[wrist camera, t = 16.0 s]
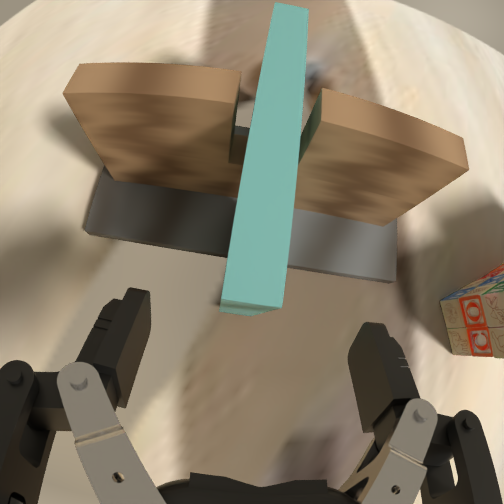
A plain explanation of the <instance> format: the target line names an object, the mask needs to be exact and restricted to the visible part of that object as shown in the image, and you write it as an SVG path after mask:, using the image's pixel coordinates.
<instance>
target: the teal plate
mask: <svg viewBox="0 0 504 504" xmlns="http://www.w3.org/2000/svg"><path fill="white" fill-rule="evenodd" d="M308 11H309V9H306V8H301V7H297V6H292V5H287V4H282V3H277V2H275V5H274V10H273V14H272V19H271V24H270V29H269V33H268V38H267V43H266V48H265V53H264V58H263V63H262V68H261V73H260V78H259V83H258V88H257V94H256V99H255V104H254V109H253V115H252V120H251V126H250V131H249V137H248V142H247V148H246V153H245V159H244V164H243V170H242V176H241V181H240V187H239V193H238V198H237V204H236V210H235V216H234V222H233V228H232V234H231V240H230V246H229V252H228V258H227V264H226V271H225V277H224V283H223V290H222V296H221V302H220V309H219V312H226V313H232V314H239V315H246V316H253V315H257V314H261V313H265V312H268V311H272V310H276V309H279V308H282V303H283V296H284V288H285V280H286V272H287V263H288V255H289V246H290V237H291V228H292V219H293V210H294V200H295V190H296V180H297V169H298V158H299V147H300V135H301V122H302V110H303V97H304V83H305V68H306V51H307V33H308Z"/></svg>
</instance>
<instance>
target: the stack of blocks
mask: <svg viewBox="0 0 504 504" xmlns="http://www.w3.org/2000/svg"><path fill="white" fill-rule="evenodd" d="M440 304H441V308H442V312H443V316H444V319H445V323H446V327H447V332H448V336H449V340H450V345H451V349H452V353H453V355H462V356H471V355H472V356H479V357H495V358H504V263H502V264H501V266H499V267H498V268H496V269H494V270H493V271H491V272H490V273H489V274H487V275H486V276H484V277H482V278H481V279H479V280H476V281H474V282H472V283H470V284H468V285H466V286H465V287H463V288H461V289H460V290H458V291H457V292H455V293H453V294H451V295H449V296H448V297H446V298H444V299H442V300H440Z"/></svg>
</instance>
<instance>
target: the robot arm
mask: <svg viewBox="0 0 504 504" xmlns="http://www.w3.org/2000/svg"><path fill="white" fill-rule="evenodd" d="M150 330H151V305H150V292H149V291H146V290H141V289H136V288H128V290H127V292H126V294H125V296H124V298H123V300H118V299H113V300H111V301H110V302H109V303H108V304H106V305H105V306H104V307H103V309H102V311H101V312H100V315H99V317H98V319H97V320H96V322H95V324H94V327H93V328H92V330H91V332H90V334H89V335H88V338H87V340H86V341H85V343H84V346H83V347H82V350H81V351H80V354H79V356H78V358H77V359H76V361H75V362H73V363H70V364H68V365H66V366H65V367H63V368H62V370H61V371H59V372H34V371H33V369H32V368H31V366H30V365H29V364H28V363H26V362H24V361H20V360H14V361H10V362H8V363H6V364H5V365H4V366H3V367H2V368H1V369H0V504H37V503H38V499H39V495H40V490H41V486H42V482H43V478H44V474H45V470H46V466H47V462H48V458H49V455H50V451H51V448H52V444H53V440H54V437H55V434H56V431H72V432H73V435H74V438H75V447H76V450H77V453H78V455H79V458H80V460H81V462H82V465H83V467H84V470H85V472H86V474H87V476H88V479H89V481H90V483H91V485H92V487H93V489H94V491H95V494H96V495H97V498H98V500H99V502H100V504H413V503H414V501H415V499H416V496H417V494H418V492H419V490H421V497H422V504H503V503H502V498H501V493H500V489H499V485H498V481H497V477H496V473H495V469H494V465H493V462H492V458H491V455H490V451H489V448H488V444H487V441H486V438H485V435H484V432H483V429H482V426H481V423H480V420H479V419H478V417H477V416H476V415H475V414H474V413H473V412H471V411H468V410H461V411H459V412H458V413H457V414H456V415H455V416H454V417H449V416H445V415H441V414H437V412H436V410H435V408H434V407H433V406H432V405H431V404H430V403H429V402H428V401H426V400H423V399H421V398H420V396H419V393H418V390H417V387H416V385H415V382H414V379H413V376H412V374H411V371H410V368H408V363H407V360H405V355H404V353H403V350H402V348H401V346H400V345H399V344H398V342H397V341H396V340H395V339H394V338H393V337H390V336H389V334H388V331H387V329H386V326H385V325H384V324H382V323H371V322H365V323H364V324H363V325H362V327H361V329H360V331H359V332H358V334H357V336H356V338H355V340H354V342H353V344H352V345H351V347H350V350H349V353H348V365H349V369H350V374H351V378H352V383H353V387H354V392H355V396H356V401H357V405H358V410H359V415H360V420H361V425H362V430H363V433H369V432H374V435H375V438H374V439H373V440H372V441H371V443H370V444H369V446H368V448H367V450H366V451H365V453H364V455H363V457H362V458H361V460H360V462H359V463H358V465H357V466H356V468H355V470H354V471H353V473H352V474H351V476H350V477H349V478H348V480H347V481H346V482H345V483H344V484H343V485H342V486H341V487H340V489H339V490H337V489H333V488H330V487H327V480H295V481H290V482H286V483H281V484H277V485H272V486H267V487H257V486H253V485H250V484H246V483H243V482H240V481H237V480H233V479H230V478H227V477H222V476H213V475H206V474H198V473H192V472H190V479H181V480H176V481H171V482H168V483H165V484H163V485H160V486H158V487H155V485H154V483H153V482H152V480H151V478H150V477H149V475H148V473H147V471H146V470H145V468H144V466H143V464H142V463H141V461H140V459H139V457H138V455H137V453H136V452H135V450H134V448H133V446H132V444H131V442H130V440H129V438H128V436H127V434H126V432H125V430H124V429H123V427H122V426H121V424H120V422H119V420H118V418H117V416H116V414H115V411H116V408H117V406H118V407H122V408H126V406H127V402H128V399H129V396H130V393H131V390H132V387H133V383H134V380H135V377H136V374H137V371H138V368H139V365H140V362H141V359H142V356H143V353H144V350H145V347H146V344H147V341H148V338H149V335H150ZM453 457H454V461H455V465H456V470H457V474H458V482H457V485H456V486H455V484H454V479H453V474H452V470H451V465H450V461H449V460H450V459H452V458H453Z"/></svg>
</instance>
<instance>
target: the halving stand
mask: <svg viewBox="0 0 504 504" xmlns="http://www.w3.org/2000/svg"><path fill="white" fill-rule="evenodd" d="M241 73H242V72H241V71H234V70H227V69H219V68H211V67H201V66H191V65H178V64H162V63H86V64H79V66H78V67H77V69H76V71H75V72H74V74H73V76H72V77H71V79H70V81H69V83H68V84H67V86H66V88H65V90H64V91H63V95H64V97H65V99H66V100H67V102H68V104H69V106H70V107H71V109H72V111H73V113H74V115H75V116H76V118H77V120H78V121H79V123H80V125H81V127H82V128H83V130H84V132H85V133H86V135H87V137H88V138H89V140H90V142H91V143H92V145H93V147H94V148H95V150H96V152H97V153H98V155H99V156H100V158H101V160H102V161H103V163H104V168H103V171H102V174H101V177H100V180H99V183H98V186H97V189H96V193H95V196H94V199H93V202H92V206H91V209H90V213H89V216H88V220H87V224H86V227H85V231H86V232H87V233H88V234H89V235H94V236H100V237H106V238H112V239H118V240H123V241H129V242H135V243H141V244H147V245H153V246H159V247H165V248H171V249H177V250H183V251H189V252H195V253H201V254H207V255H213V256H219V257H225V258H228V252H229V246H230V240H231V234H232V228H233V222H234V216H235V210H236V204H237V198H238V193H239V187H240V181H241V176H242V170H243V164H244V159H245V153H246V148H247V142H248V137H249V131H250V128H247V127H241V126H235V122H236V113H237V105H238V97H239V89H240V81H241ZM468 170H469V166H468V161H467V155H466V150H465V145H464V141H463V138H462V137H460V136H458V135H455V134H453V133H451V132H449V131H446V130H444V129H442V128H440V127H437V126H435V125H432V124H430V123H428V122H425V121H423V120H420V119H418V118H415V117H412V116H410V115H407V114H404V113H402V112H399V111H396V110H393V109H391V108H388V107H385V106H382V105H379V104H376V103H373V102H370V101H367V100H363V99H360V98H357V97H353V96H350V95H347V94H343V93H340V92H336V91H332V90H328V89H325V88H322V89H321V92H320V94H319V96H318V98H317V101H316V103H315V105H314V107H313V110H312V112H311V114H310V116H309V119H308V121H307V123H306V125H305V127H304V130H303V132H302V134H301V136H300V147H299V158H298V169H297V180H296V190H295V200H294V210H293V219H292V228H291V237H290V246H289V255H288V263H287V268H293V269H300V270H306V271H312V272H319V273H325V274H331V275H338V276H344V277H351V278H357V279H364V280H370V281H377V282H383V283H392V282H396V264H397V218H398V217H399V216H401V215H402V214H404V213H406V212H407V211H409V210H410V209H412V208H413V207H415V206H416V205H418V204H419V203H421V202H422V201H424V200H425V199H427V198H428V197H430V196H431V195H433V194H434V193H436V192H437V191H439V190H440V189H442V188H443V187H445V186H446V185H448V184H449V183H451V182H452V181H454V180H455V179H457V178H458V177H460V176H461V175H462V174H464V173H465V172H467V171H468Z"/></svg>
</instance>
